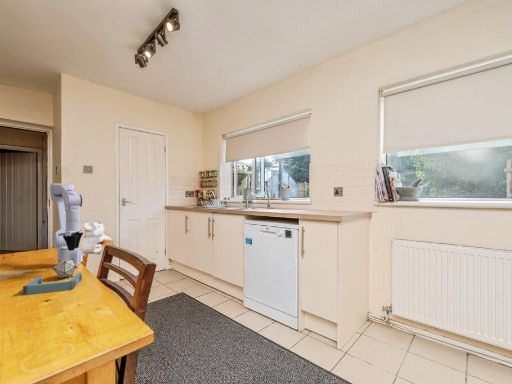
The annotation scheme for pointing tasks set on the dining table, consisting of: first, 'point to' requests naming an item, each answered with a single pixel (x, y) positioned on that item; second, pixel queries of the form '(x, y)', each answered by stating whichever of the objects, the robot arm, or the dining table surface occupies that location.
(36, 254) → the dining table surface
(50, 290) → the chassis
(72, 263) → the game die
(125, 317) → the dining table surface
